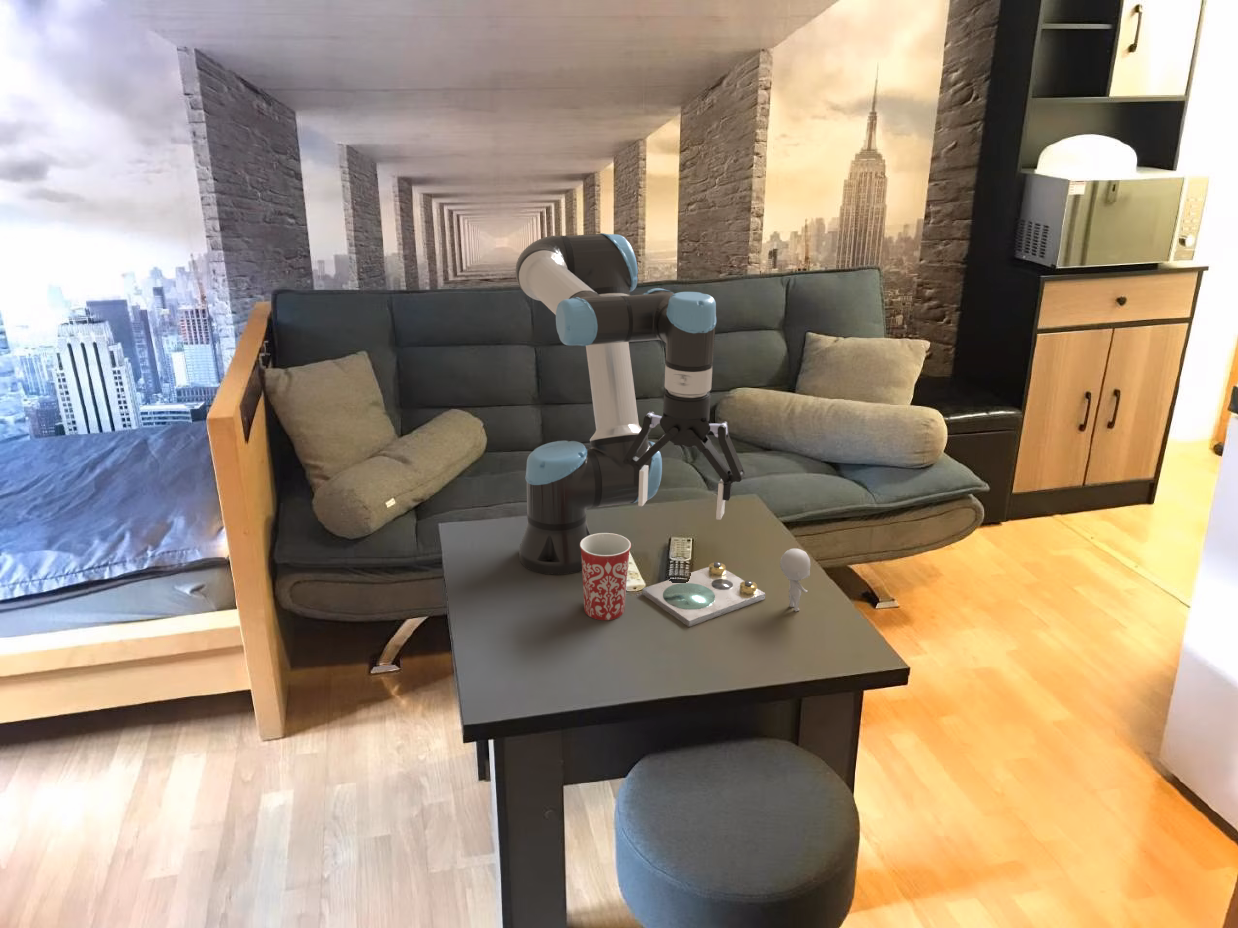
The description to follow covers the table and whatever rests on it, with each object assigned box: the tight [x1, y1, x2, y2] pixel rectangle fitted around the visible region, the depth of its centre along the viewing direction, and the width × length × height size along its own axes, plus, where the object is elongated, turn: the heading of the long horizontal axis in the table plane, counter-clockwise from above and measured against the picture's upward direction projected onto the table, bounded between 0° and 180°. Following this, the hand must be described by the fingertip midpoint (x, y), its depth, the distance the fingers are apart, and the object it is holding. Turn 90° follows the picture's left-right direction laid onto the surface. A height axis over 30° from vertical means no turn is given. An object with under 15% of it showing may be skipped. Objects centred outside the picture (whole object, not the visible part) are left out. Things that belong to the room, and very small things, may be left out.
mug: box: [580, 532, 632, 621], centre depth 175 cm, size 13×9×14 cm
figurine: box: [779, 547, 811, 612], centre depth 175 cm, size 8×5×12 cm
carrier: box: [641, 561, 766, 628], centre depth 180 cm, size 14×18×3 cm
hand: (680, 509), depth 164 cm, fingers open, 13 cm apart
